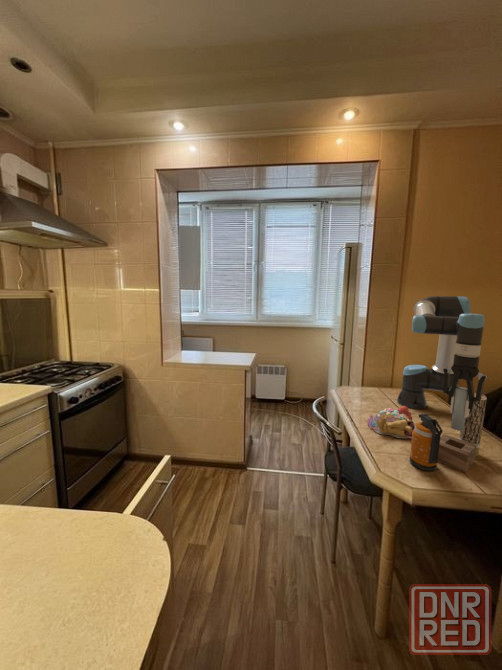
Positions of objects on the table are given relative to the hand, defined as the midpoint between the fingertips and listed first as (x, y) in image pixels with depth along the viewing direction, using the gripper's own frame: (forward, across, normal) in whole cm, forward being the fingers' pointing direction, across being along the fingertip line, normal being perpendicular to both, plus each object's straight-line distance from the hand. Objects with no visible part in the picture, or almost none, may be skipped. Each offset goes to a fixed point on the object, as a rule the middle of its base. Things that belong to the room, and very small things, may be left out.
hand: (459, 414), depth 108 cm
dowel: (+6, 0, 0) cm, 6 cm away
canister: (+20, -5, -13) cm, 24 cm away
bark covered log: (+20, +2, +11) cm, 23 cm away
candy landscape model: (+20, -28, +9) cm, 36 cm away
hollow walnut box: (+19, 0, 0) cm, 19 cm away
